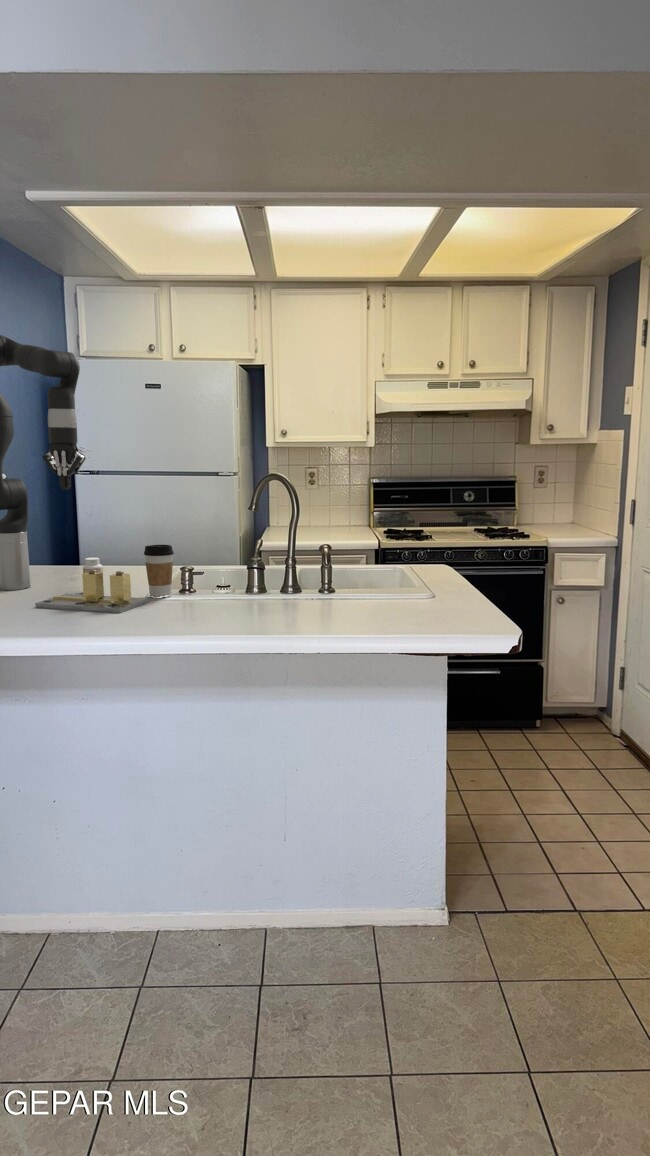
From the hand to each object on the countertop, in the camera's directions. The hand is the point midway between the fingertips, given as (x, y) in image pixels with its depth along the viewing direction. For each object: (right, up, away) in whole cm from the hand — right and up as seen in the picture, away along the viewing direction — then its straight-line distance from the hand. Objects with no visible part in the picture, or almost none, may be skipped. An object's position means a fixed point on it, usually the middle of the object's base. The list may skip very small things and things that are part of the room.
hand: (65, 489), depth 215 cm
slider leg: (+9, -31, -7) cm, 33 cm away
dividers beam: (+9, -31, -7) cm, 33 cm away
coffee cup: (+25, -30, +7) cm, 40 cm away
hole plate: (+9, -32, -5) cm, 34 cm away
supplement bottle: (+4, -29, +13) cm, 32 cm away
